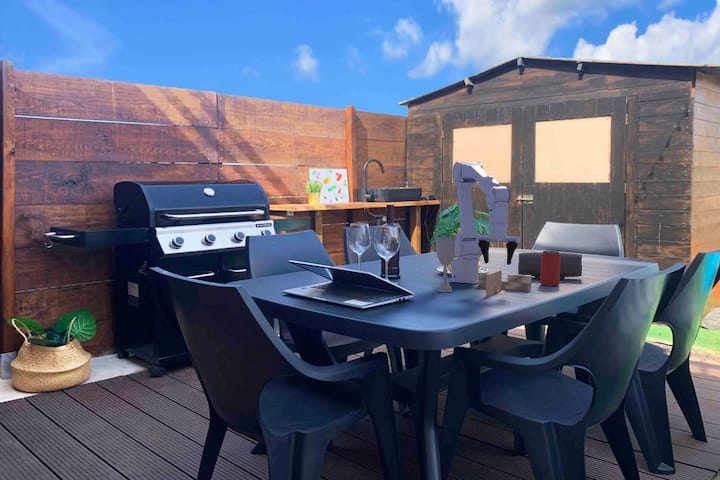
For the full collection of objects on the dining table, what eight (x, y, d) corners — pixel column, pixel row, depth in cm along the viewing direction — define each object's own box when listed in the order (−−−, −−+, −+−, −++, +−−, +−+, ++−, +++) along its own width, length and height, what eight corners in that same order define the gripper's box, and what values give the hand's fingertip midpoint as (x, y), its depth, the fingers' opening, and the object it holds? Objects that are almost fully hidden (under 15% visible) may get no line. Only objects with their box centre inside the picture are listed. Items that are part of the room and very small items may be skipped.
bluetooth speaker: (517, 279, 231) (518, 253, 230) (519, 275, 240) (519, 250, 239) (581, 281, 225) (582, 254, 224) (580, 277, 234) (581, 251, 233)
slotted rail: (478, 286, 215) (478, 272, 214) (480, 286, 216) (480, 272, 216) (529, 290, 205) (529, 276, 205) (531, 290, 207) (531, 275, 207)
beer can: (555, 287, 212) (556, 253, 211) (536, 285, 216) (538, 251, 215) (562, 285, 217) (563, 251, 216) (544, 282, 221) (545, 249, 220)
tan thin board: (485, 296, 197) (486, 274, 196) (497, 290, 207) (498, 269, 206) (489, 296, 196) (489, 274, 195) (501, 290, 206) (501, 270, 206)
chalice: (431, 291, 206) (431, 238, 204) (438, 288, 212) (438, 236, 210) (452, 293, 202) (452, 238, 201) (458, 290, 208) (458, 237, 207)
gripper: (472, 223, 203) (472, 263, 204) (516, 224, 195) (515, 266, 197) (480, 221, 209) (479, 261, 210) (522, 222, 201) (521, 263, 203)
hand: (497, 263), depth 204 cm, fingers open, 7 cm apart
